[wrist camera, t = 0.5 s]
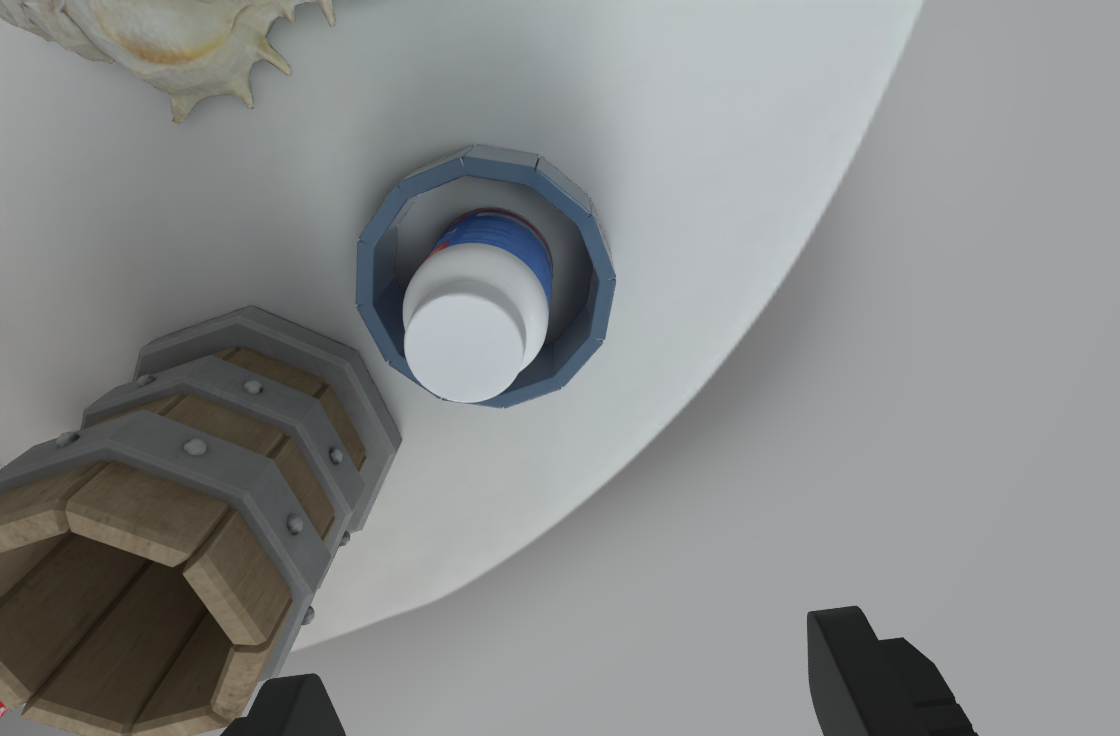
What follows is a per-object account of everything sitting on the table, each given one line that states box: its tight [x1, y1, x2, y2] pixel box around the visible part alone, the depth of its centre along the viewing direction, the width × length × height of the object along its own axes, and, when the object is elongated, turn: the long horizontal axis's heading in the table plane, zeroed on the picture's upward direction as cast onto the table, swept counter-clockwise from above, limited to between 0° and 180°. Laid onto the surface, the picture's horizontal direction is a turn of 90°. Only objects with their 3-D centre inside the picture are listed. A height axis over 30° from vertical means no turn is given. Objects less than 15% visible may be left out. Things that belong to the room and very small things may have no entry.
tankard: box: [0, 306, 402, 736], centre depth 28 cm, size 20×13×15 cm, turn 109°
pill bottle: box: [403, 208, 553, 403], centre depth 27 cm, size 6×5×10 cm
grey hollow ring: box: [356, 145, 616, 408], centre depth 29 cm, size 10×10×4 cm
